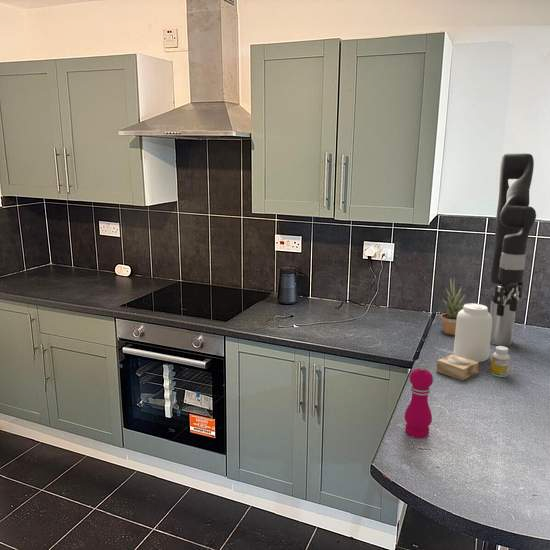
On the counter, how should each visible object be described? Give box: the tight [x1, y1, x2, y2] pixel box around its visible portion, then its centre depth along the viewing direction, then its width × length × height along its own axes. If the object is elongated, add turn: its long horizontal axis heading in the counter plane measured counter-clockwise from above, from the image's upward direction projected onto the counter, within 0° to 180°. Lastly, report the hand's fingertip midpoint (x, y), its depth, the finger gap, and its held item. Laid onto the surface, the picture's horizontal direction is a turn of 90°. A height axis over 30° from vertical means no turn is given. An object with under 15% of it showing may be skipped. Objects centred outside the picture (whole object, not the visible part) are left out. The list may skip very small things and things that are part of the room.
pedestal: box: [436, 353, 480, 381], centre depth 181 cm, size 10×10×4 cm
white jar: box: [452, 302, 492, 363], centre depth 194 cm, size 12×12×20 cm
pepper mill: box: [404, 363, 434, 439], centre depth 140 cm, size 7×7×20 cm
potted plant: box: [440, 277, 466, 336], centre depth 219 cm, size 10×10×25 cm
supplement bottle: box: [490, 345, 510, 378], centre depth 179 cm, size 5×5×10 cm
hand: (506, 313), depth 175 cm, fingers open, 8 cm apart
